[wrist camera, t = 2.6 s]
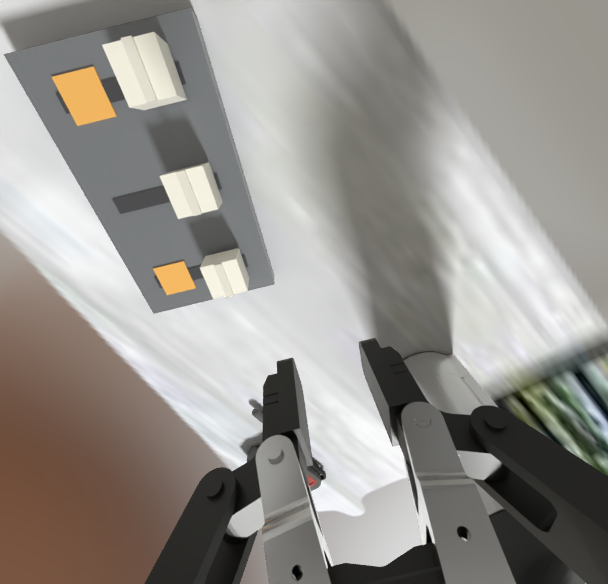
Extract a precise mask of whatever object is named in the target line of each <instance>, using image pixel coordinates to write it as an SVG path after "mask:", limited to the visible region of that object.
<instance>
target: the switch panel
mask: <svg viewBox="0 0 608 584" xmlns="http://www.w3.org/2000/svg"><path fill="white" fill-rule="evenodd" d="M151 32H155V33H156V34H157V35H158V36H159V37H161V38H162V39H163V40H164V41H165V42H166V43H167V44H168V46H169V49H170V52H171V55H172V58H173V61H174V64H175V66H176V69H177V72H178V75H179V78H180V81H181V84H182V86H183V89H184V92H185V95H186V98H187V100H184V101H180V102H176V103H172V104H168V105H164V106H160V107H156V108H151V109H147V110H140V109H135V108H129V106H128V103H127V101H126V99H125V97H124V94H123V92H122V90H121V87H120V85H119V83H118V81H117V78H116V76H115V74H114V71H113V69H112V67H111V65H110V62H109V60H108V58H107V56H106V53H105V51H104V49H103V46H102V45H103V44H107V43H111V42H115V41H119V40H121V39H120V38H123V37H127V36H132V37H135V36H139V35H143V34H147V33H151ZM4 56H5V57H6V59H7V61H8V63H9V64H10V66H11V68H12V69H13V71H14V73H15V75H16V76H17V78H18V80H19V82H20V83H21V85H22V87H23V88H24V90H25V92H26V94H27V95H28V97H29V99H30V101H31V102H32V104H33V106H34V107H35V109H36V111H37V113H38V114H39V116H40V118H41V120H42V121H43V123H44V125H45V126H46V128H47V130H48V132H49V133H50V135H51V137H52V139H53V140H54V142H55V144H56V146H57V147H58V149H59V151H60V152H61V154H62V156H63V158H64V159H65V161H66V163H67V165H68V166H69V168H70V170H71V171H72V173H73V175H74V177H75V178H76V180H77V182H78V184H79V185H80V187H81V189H82V190H83V192H84V194H85V196H86V197H87V199H88V201H89V203H90V204H91V206H92V208H93V209H94V211H95V213H96V215H97V216H98V218H99V220H100V222H101V223H102V225H103V227H104V228H105V230H106V232H107V234H108V235H109V237H110V239H111V241H112V242H113V244H114V246H115V248H116V249H117V251H118V253H119V254H120V256H121V258H122V260H123V261H124V263H125V265H126V267H127V268H128V270H129V272H130V273H131V275H132V277H133V279H134V280H135V282H136V284H137V286H138V287H139V289H140V291H141V292H142V294H143V296H144V298H145V299H146V301H147V303H148V305H149V306H150V308H151V310H152V311H153V313H158V312H163V311H167V310H171V309H175V308H179V307H183V306H187V305H191V304H195V303H199V302H204V301H208V300H212V299H213V297H212V295H211V293H210V290H209V288H208V286H207V284H206V281H205V279H204V277H203V275H202V272H201V270H200V266H201V264H202V262H203V260H204V258H205V256H208V255H212V254H216V253H220V252H224V251H228V250H233V249H237V248H239V250H240V253H241V256H242V258H243V261H244V264H245V267H246V270H247V273H248V276H249V284H248V291H249V290H253V289H257V288H261V287H265V286H269V285H273V284H274V273H273V270H272V267H271V263H270V260H269V257H268V253H267V250H266V247H265V243H264V240H263V237H262V233H261V230H260V227H259V223H258V220H257V216H256V213H255V210H254V206H253V203H252V200H251V196H250V193H249V190H248V186H247V183H246V180H245V176H244V173H243V170H242V166H241V163H240V160H239V156H238V153H237V149H236V146H235V143H234V139H233V136H232V133H231V129H230V126H229V123H228V119H227V116H226V113H225V109H224V106H223V103H222V99H221V96H220V93H219V89H218V86H217V82H216V79H215V76H214V72H213V69H212V66H211V62H210V59H209V56H208V52H207V49H206V46H205V42H204V39H203V36H202V32H201V29H200V26H199V22H198V19H197V17H196V15H195V14H194V12H193V10H192V9H191V7H190V8H186V9H182V10H178V11H174V12H170V13H166V14H162V15H158V16H154V17H150V18H146V19H142V20H138V21H134V22H130V23H126V24H122V25H118V26H114V27H111V28H107V29H103V30H99V31H95V32H91V33H87V34H83V35H79V36H75V37H71V38H67V39H63V40H59V41H55V42H51V43H47V44H43V45H39V46H35V47H31V48H27V49H23V50H19V51H15V52H11V53H7V54H4ZM208 162H209V164H210V167H211V170H212V172H213V175H214V178H215V181H216V184H217V187H218V190H219V192H220V195H221V198H222V201H223V203H222V204H221V206H220V207H219V209H218V210H213V211H209V212H205V213H202V214H201V215H196V216H189V217H185V218H181V219H178V217H177V215H176V213H175V211H174V208H173V206H172V204H171V202H170V199H169V197H168V195H167V192H166V190H165V188H164V186H163V183H162V181H161V179H160V176H161V175H163V174H166V173H168V172H171V171H175V170H179V169H183V168H187V167H191V166H196V165H200V164H204V163H208Z"/></svg>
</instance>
